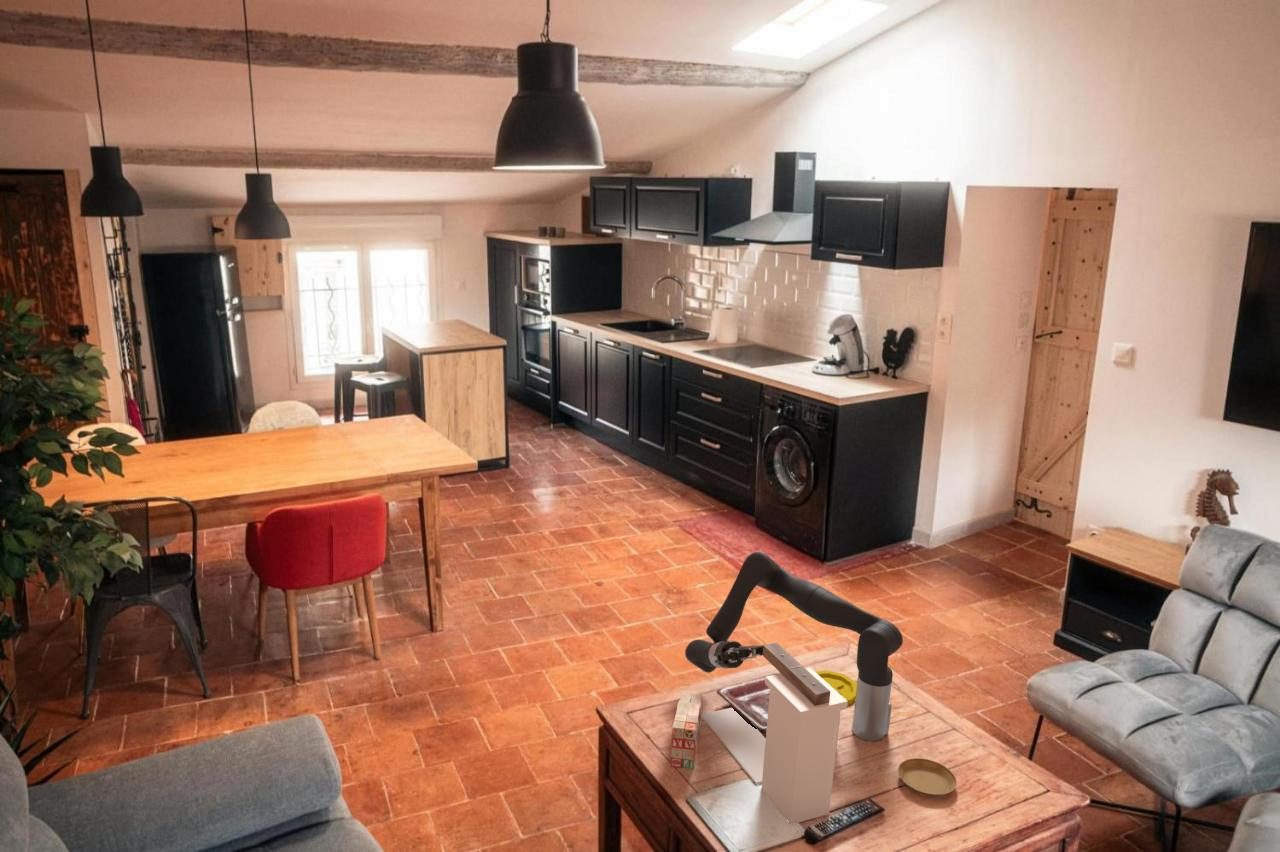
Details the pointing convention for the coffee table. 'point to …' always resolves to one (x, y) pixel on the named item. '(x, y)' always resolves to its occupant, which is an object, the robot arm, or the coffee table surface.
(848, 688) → the decorative disc
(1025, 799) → the coffee table surface
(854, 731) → the robot arm
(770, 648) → the studded wooden bar
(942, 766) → the plant saucer
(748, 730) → the white mat
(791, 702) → the tall stand
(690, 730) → the stack of blocks
